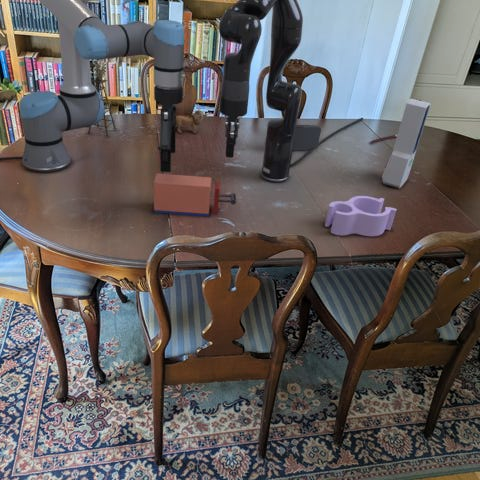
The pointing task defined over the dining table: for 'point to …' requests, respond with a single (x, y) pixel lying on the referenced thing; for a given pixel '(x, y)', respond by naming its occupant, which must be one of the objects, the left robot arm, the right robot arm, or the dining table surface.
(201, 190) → the cabinet
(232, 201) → the drawer
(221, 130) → the dining table surface
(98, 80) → the miniature windmill
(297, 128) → the handheld gaming console
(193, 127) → the lion figurine
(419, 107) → the electronic device
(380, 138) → the sword
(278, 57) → the right robot arm
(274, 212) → the dining table surface
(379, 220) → the clip
